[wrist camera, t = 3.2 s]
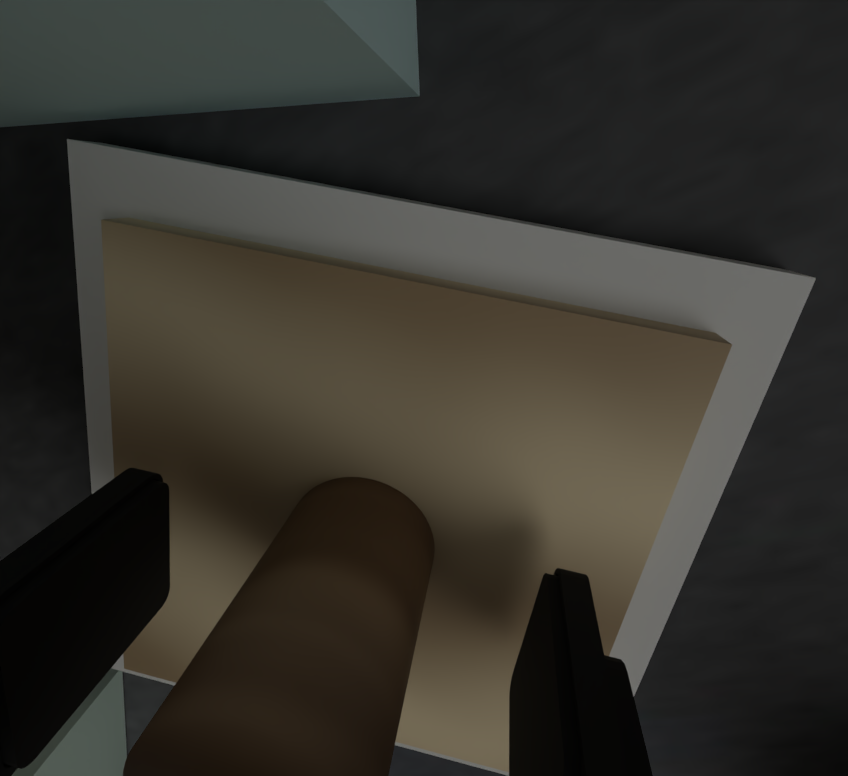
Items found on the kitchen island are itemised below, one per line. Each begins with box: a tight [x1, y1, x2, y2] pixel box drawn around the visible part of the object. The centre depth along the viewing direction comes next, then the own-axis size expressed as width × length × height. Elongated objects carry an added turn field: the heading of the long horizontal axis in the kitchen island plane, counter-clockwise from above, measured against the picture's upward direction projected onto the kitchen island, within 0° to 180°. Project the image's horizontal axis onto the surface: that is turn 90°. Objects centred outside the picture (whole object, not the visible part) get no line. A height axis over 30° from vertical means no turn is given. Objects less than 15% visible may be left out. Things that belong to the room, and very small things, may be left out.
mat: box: [67, 139, 816, 776], centre depth 13 cm, size 14×14×1 cm
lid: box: [101, 218, 732, 776], centre depth 9 cm, size 12×12×6 cm
